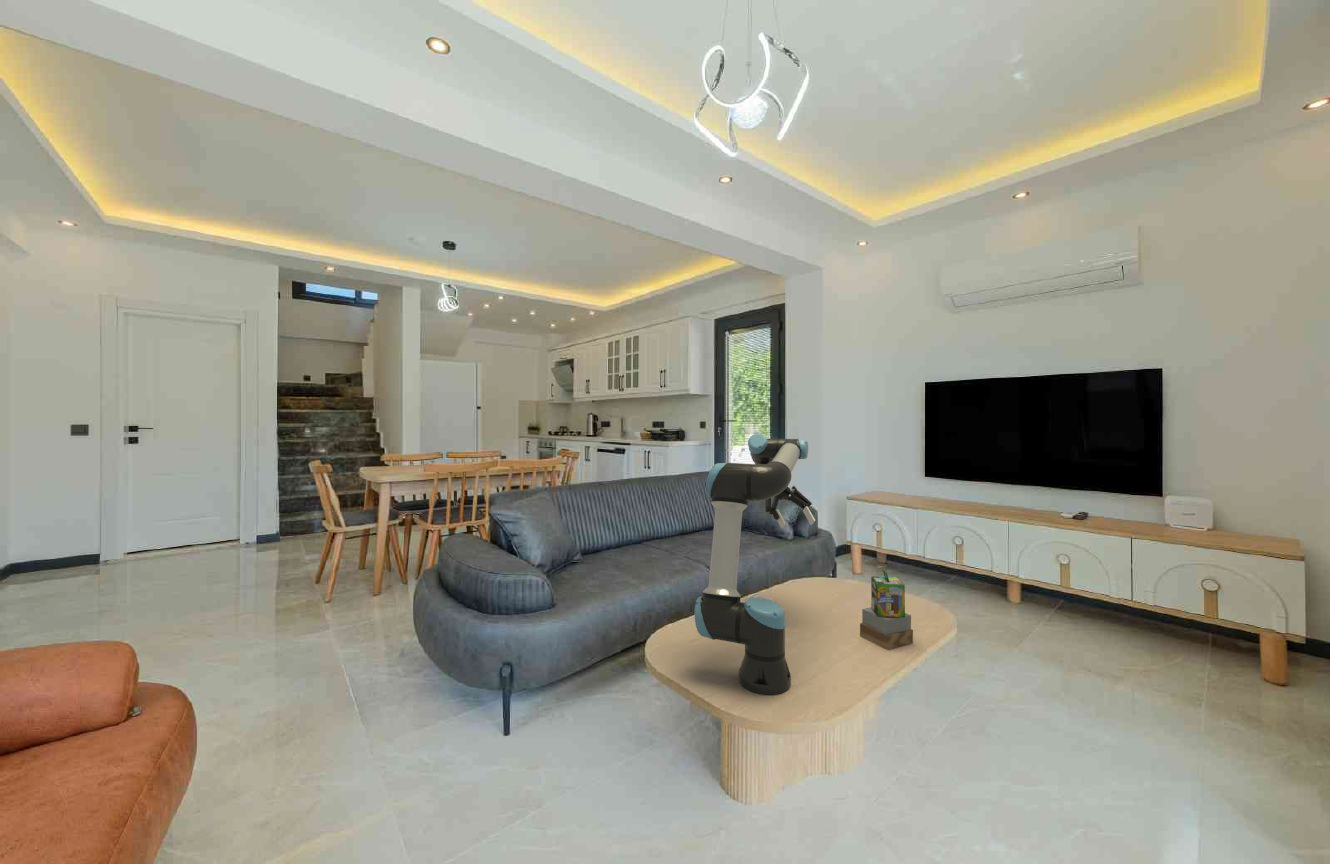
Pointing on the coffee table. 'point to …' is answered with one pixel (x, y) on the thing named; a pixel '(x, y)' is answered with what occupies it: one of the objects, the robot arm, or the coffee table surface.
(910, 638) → the tower bottom slab
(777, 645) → the robot arm
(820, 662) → the coffee table surface
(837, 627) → the coffee table surface
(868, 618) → the tower top slab
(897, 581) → the chalk box
